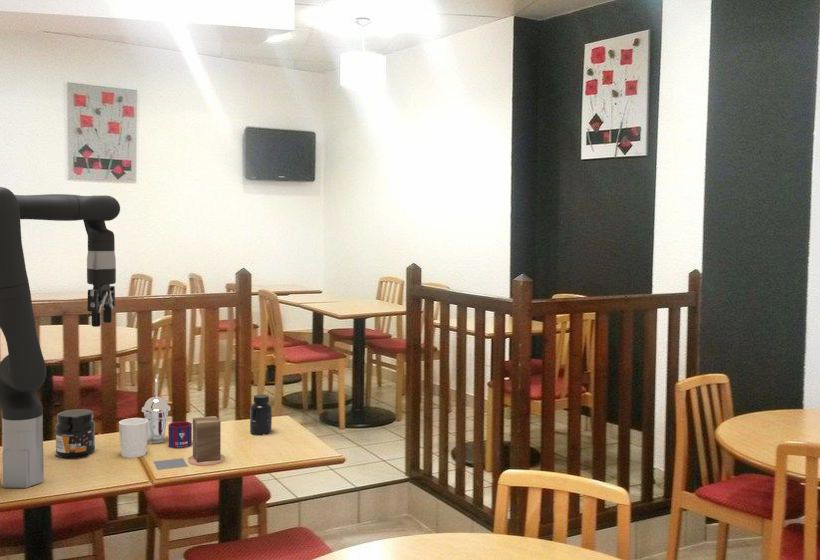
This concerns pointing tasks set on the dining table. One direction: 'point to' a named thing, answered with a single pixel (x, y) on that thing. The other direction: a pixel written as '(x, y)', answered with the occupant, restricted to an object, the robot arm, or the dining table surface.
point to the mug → (180, 434)
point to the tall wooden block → (206, 439)
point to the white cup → (133, 437)
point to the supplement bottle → (260, 415)
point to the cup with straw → (156, 416)
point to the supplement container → (75, 433)
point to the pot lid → (193, 462)
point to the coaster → (170, 464)
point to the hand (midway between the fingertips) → (101, 324)
